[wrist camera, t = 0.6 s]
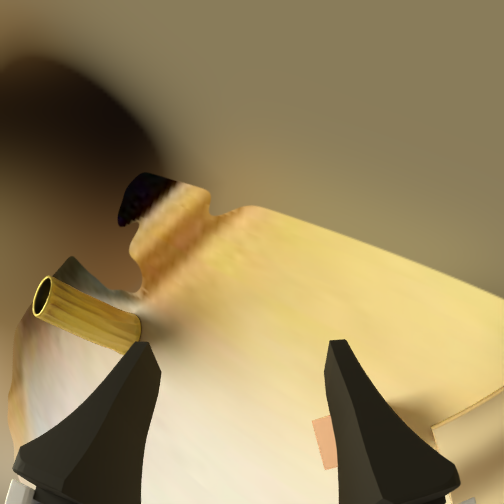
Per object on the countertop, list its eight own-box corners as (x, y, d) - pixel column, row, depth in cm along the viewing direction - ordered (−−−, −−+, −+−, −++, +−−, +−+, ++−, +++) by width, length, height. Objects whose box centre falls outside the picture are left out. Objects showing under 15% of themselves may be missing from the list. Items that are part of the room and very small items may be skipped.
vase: (121, 312, 43) (42, 271, 32) (146, 316, 40) (59, 271, 29) (110, 350, 40) (26, 316, 30) (135, 358, 37) (41, 323, 26)
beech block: (553, 461, 10) (571, 466, 7) (454, 519, 13) (459, 536, 10) (528, 368, 16) (544, 360, 13) (430, 426, 19) (433, 430, 16)
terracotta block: (385, 444, 20) (379, 453, 16) (340, 459, 21) (324, 470, 17) (373, 403, 22) (364, 402, 18) (329, 418, 23) (311, 420, 19)
